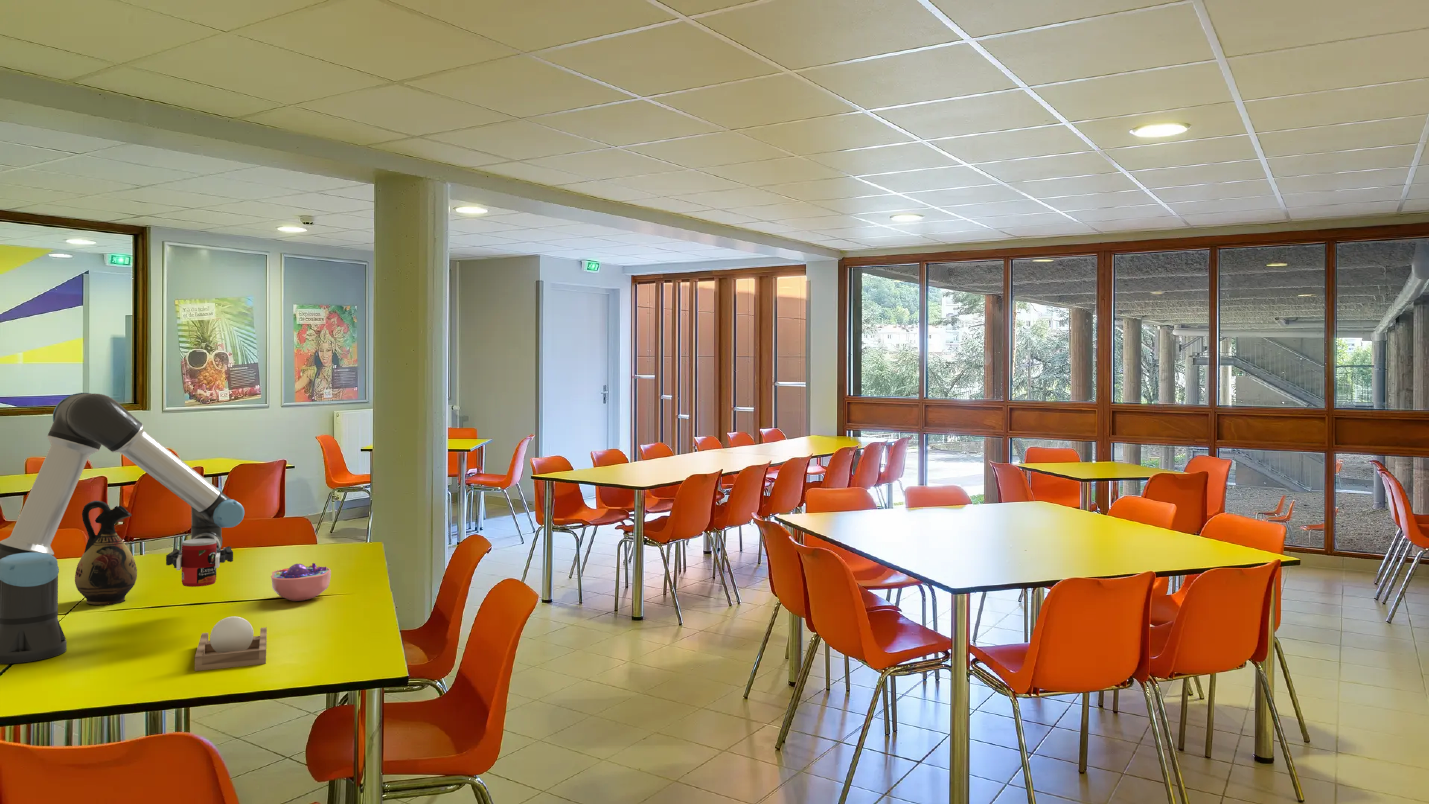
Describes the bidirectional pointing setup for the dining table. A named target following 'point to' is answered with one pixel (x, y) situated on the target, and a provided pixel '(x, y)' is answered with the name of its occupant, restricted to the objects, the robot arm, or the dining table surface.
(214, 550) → the canned food
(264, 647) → the walnut tray
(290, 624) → the dining table surface
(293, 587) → the cell model
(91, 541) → the ceramic jug
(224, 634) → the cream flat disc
